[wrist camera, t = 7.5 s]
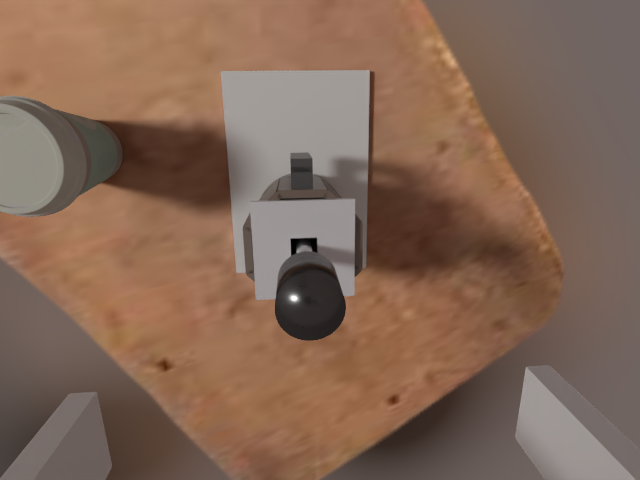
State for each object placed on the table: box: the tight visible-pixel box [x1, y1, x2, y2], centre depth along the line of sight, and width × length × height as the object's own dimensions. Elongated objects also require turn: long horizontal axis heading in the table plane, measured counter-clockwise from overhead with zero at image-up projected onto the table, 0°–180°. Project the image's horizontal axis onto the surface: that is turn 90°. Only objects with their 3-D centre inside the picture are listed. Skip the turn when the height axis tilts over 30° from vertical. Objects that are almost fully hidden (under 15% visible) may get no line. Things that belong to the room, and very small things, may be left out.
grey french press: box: [243, 152, 363, 300], centre depth 35 cm, size 11×9×12 cm
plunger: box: [275, 238, 346, 340], centre depth 28 cm, size 4×4×16 cm
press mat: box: [221, 70, 370, 273], centre depth 40 cm, size 20×14×1 cm
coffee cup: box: [0, 96, 123, 217], centre depth 32 cm, size 8×9×12 cm
